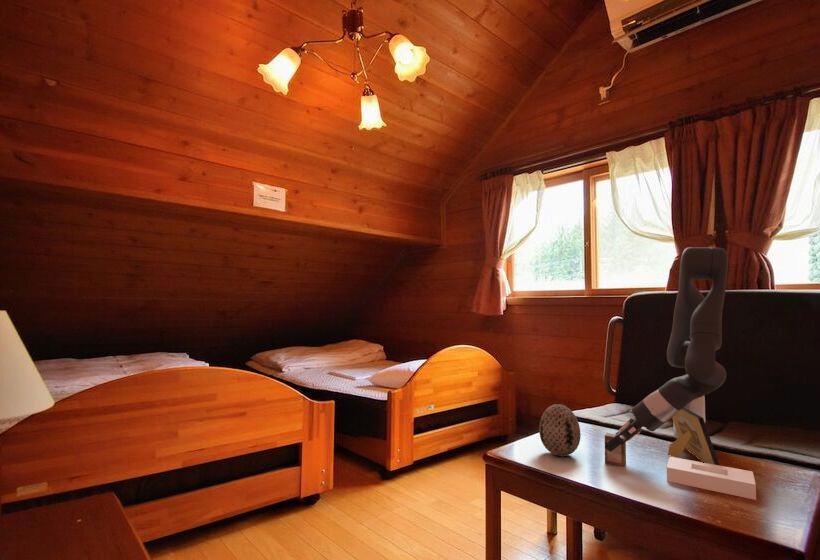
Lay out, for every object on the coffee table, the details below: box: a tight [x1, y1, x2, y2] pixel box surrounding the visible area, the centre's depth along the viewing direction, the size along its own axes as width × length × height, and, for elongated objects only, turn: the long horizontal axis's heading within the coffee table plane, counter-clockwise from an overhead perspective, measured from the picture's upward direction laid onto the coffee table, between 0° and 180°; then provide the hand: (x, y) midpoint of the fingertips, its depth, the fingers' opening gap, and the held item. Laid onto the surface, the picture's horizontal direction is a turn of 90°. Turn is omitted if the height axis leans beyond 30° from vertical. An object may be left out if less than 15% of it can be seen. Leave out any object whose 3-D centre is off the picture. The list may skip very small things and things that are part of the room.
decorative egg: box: [538, 403, 582, 457], centre depth 130 cm, size 12×12×15 cm
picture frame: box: [667, 408, 721, 466], centre depth 130 cm, size 23×9×15 cm, turn 168°
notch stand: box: [666, 456, 757, 501], centre depth 110 cm, size 10×18×4 cm, turn 55°
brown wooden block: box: [604, 432, 627, 469], centre depth 123 cm, size 3×5×8 cm, turn 55°
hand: (610, 444), depth 124 cm, fingers open, 8 cm apart
